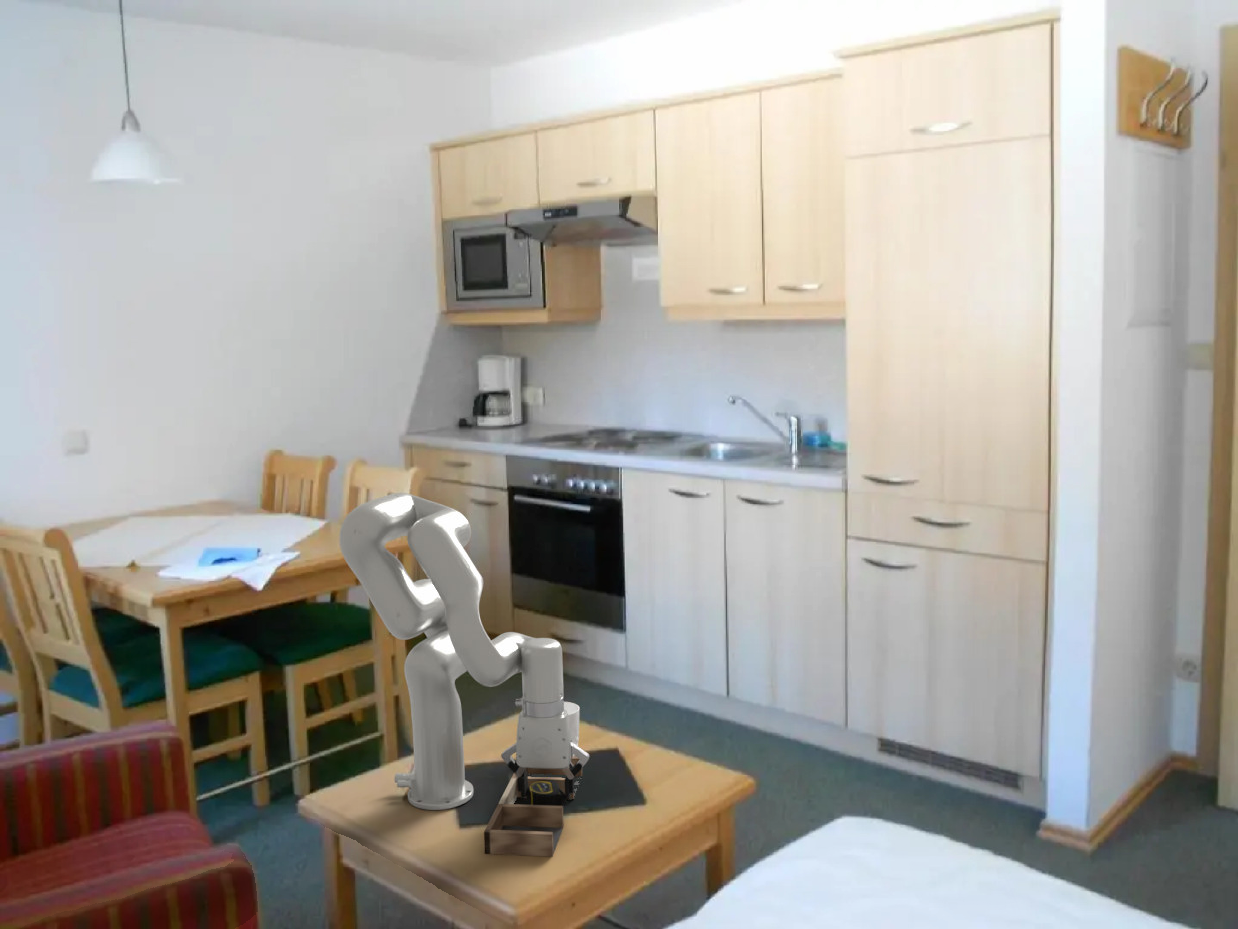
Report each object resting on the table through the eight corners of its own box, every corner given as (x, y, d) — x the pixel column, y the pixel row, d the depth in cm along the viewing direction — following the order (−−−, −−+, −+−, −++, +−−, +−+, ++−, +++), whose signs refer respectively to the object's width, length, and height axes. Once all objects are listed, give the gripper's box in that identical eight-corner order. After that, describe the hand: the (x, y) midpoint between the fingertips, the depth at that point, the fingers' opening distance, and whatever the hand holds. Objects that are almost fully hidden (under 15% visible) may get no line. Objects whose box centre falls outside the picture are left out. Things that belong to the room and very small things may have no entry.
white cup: (539, 749, 243) (537, 704, 241) (575, 744, 245) (573, 699, 244) (548, 763, 235) (546, 717, 234) (585, 758, 238) (583, 712, 236)
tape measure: (567, 811, 212) (566, 792, 211) (530, 816, 210) (530, 797, 209) (558, 795, 218) (558, 777, 218) (523, 800, 216) (522, 781, 216)
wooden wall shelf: (484, 853, 198) (483, 832, 198) (523, 773, 231) (523, 755, 230) (552, 856, 197) (551, 834, 196) (582, 775, 229) (581, 756, 229)
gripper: (492, 712, 208) (496, 803, 211) (587, 714, 206) (589, 806, 208) (501, 697, 215) (505, 785, 218) (593, 699, 213) (595, 788, 216)
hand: (546, 795), depth 213 cm, fingers closed on tape measure, 7 cm apart
